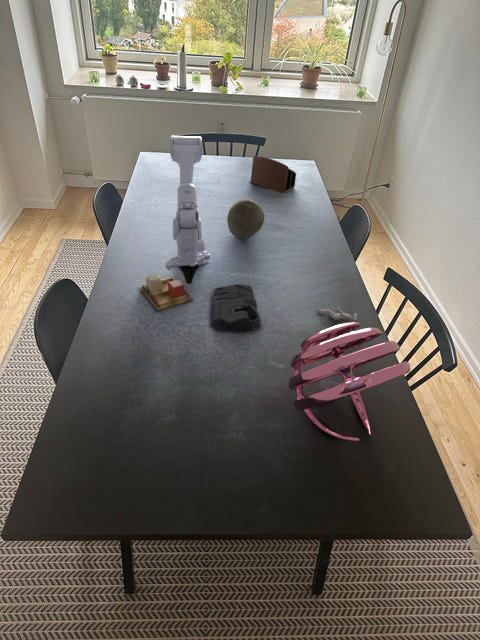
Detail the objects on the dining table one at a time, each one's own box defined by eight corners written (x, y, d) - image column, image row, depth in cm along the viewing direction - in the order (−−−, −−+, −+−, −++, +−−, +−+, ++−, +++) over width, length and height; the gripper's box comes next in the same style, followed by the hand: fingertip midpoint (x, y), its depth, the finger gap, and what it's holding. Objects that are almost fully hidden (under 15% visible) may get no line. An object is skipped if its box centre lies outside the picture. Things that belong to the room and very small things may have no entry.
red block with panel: (179, 290, 150) (178, 278, 147) (184, 296, 147) (184, 284, 144) (168, 293, 148) (167, 281, 145) (173, 300, 145) (173, 288, 142)
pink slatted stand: (455, 416, 91) (401, 293, 97) (327, 464, 89) (279, 335, 94) (403, 418, 119) (363, 322, 124) (304, 454, 116) (268, 355, 121)
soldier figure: (321, 309, 150) (359, 308, 145) (321, 324, 149) (358, 323, 144) (316, 305, 143) (355, 303, 138) (316, 320, 142) (355, 319, 137)
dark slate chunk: (257, 290, 154) (259, 278, 151) (261, 333, 137) (262, 320, 134) (212, 288, 153) (213, 276, 150) (210, 331, 136) (210, 318, 133)
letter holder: (284, 194, 216) (288, 165, 207) (250, 182, 224) (252, 154, 215) (294, 187, 223) (298, 159, 214) (260, 176, 231) (263, 148, 222)
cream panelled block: (157, 284, 151) (157, 272, 148) (162, 291, 149) (162, 279, 146) (146, 288, 149) (145, 276, 146) (151, 294, 147) (150, 282, 144)
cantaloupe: (242, 248, 175) (245, 213, 165) (219, 234, 182) (220, 199, 173) (268, 238, 182) (272, 203, 173) (245, 224, 190) (248, 190, 180)
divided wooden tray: (173, 280, 156) (173, 275, 154) (190, 300, 147) (190, 295, 146) (141, 289, 150) (140, 284, 149) (157, 310, 142) (156, 305, 141)
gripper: (171, 257, 133) (173, 294, 141) (215, 246, 139) (213, 282, 148) (161, 246, 137) (163, 283, 146) (204, 236, 143) (203, 272, 152)
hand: (188, 282), depth 147 cm, fingers closed
